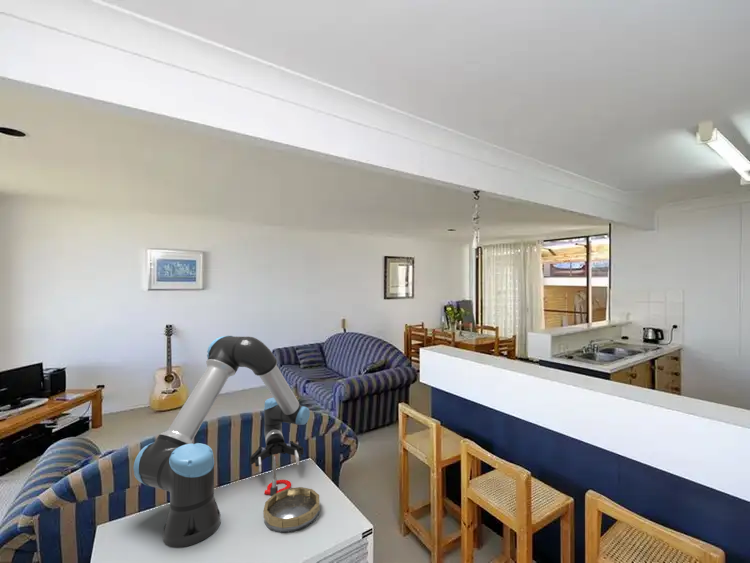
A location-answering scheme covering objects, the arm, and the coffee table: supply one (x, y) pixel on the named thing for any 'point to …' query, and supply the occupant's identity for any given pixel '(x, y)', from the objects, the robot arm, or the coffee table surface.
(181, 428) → the robot arm
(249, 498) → the coffee table surface
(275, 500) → the wooden rimmed bowl
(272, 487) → the tow hook
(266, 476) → the coffee table surface
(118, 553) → the coffee table surface
